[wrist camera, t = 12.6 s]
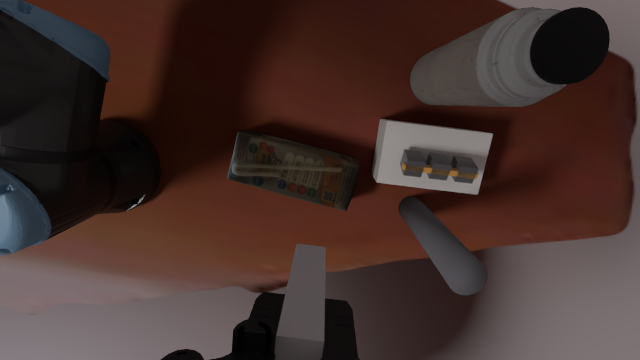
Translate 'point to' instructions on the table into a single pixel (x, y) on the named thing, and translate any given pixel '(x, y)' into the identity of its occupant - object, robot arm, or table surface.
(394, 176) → the breaker box
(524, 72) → the thermos bottle
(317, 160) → the beverage carton
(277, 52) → the table surface
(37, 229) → the robot arm
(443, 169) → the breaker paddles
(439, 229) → the post
